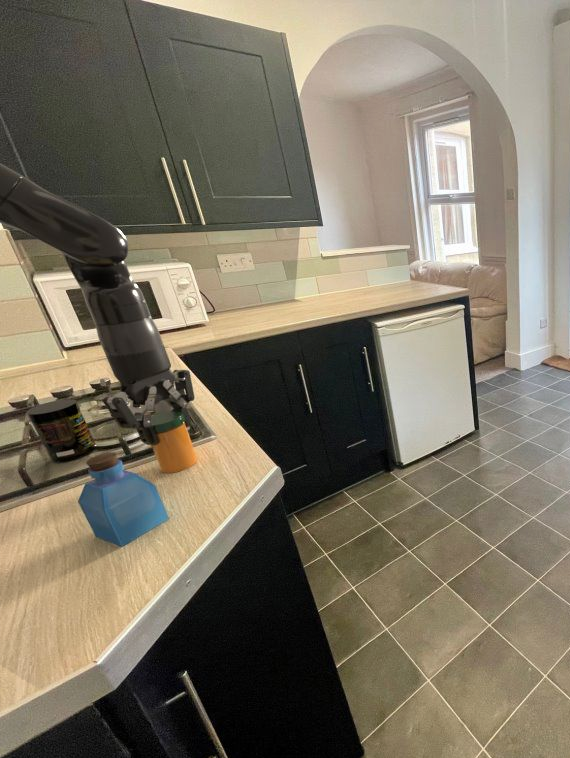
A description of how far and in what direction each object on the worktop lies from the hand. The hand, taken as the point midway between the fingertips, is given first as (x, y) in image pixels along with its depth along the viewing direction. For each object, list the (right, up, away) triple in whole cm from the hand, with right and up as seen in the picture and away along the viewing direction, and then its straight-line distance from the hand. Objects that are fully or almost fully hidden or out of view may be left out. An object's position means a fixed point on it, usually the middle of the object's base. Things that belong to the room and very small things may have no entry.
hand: (169, 434), depth 76 cm
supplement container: (-25, -5, +7) cm, 26 cm away
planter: (-10, -1, +15) cm, 18 cm away
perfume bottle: (+6, -12, -14) cm, 19 cm away
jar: (0, -6, +2) cm, 6 cm away
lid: (0, +3, -1) cm, 3 cm away
